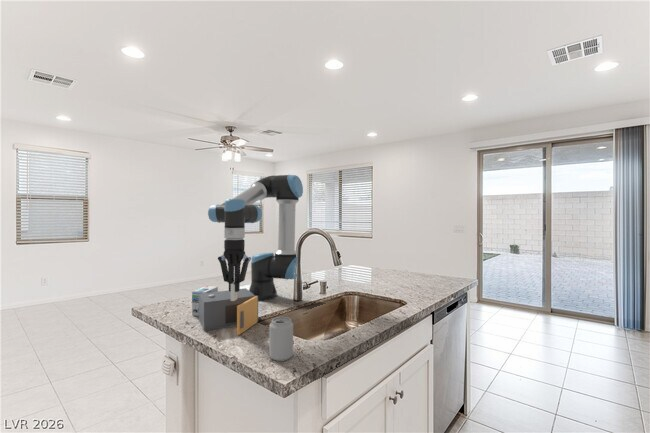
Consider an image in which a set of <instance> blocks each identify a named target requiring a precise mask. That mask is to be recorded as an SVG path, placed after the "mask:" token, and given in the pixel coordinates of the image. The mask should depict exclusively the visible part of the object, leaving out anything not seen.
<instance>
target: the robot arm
mask: <svg viewBox="0 0 650 433" xmlns="http://www.w3.org/2000/svg"><path fill="white" fill-rule="evenodd" d="M303 189H304V186H303V183H302V180H301V178H300V177H299V175H295V174H287V175H286V174H280V175H268V176H265V177H263V178H262V177H261V179H258V180H256V181H255V182H253V183H251V185H250V187H248V188H247V189H245V190H243V191H242V192H240V193H238V194H236V195H235V196H233V197H232V198H226V199H225V201H224V202H223V203H221V204H212V205H211V206H210V207H209V208H208V210H207V215H208V216H207V217H208V219H209V220H210V221H211V222H213V223H218V224H219V223H224V231H223V232H224V234H223V235H224V241H223V242H224V244H223V245H224V246H223V248H224V250H223V254H222V255H221V256H218V257H217V260H218V261H219V264H220V268H221V273H222V279H223V281H224V282H227V283H228V290H229V292H231V301H235V300H237V292H238V291H239V290H240V289H241V288H240V285H241V284H240V283H243V282H244V281H245V279H246V274H247V270H248V267H249V264H250V266H251V267H250V268H251V270H250V271H251V281H250V282H251V283H250V285H249V289H248V290H249V291H250V292H251V293H252V294H254V295H255V296H258V301H266V300H267V301H268V300H272V299H276V298H277V296H278V293H277V289H276V286H275V282H274V279H282V280H283V279H284V280H287V281H288V280H295V279H297V277H298V276H297V274H296V269H295V266H297V257H298V256H297V257H296V252H297V251H296V250H295V249H296V247H295V246H296V244H295V243H296V240H295V239H296V204H298V202H299V198H301V197H302V196H303V193H304V190H303ZM268 198H275V199H276V200H275V201H276V202H277V203H278V233H277V234H278V235H277V236H278V237H277V242H278V244H277V250H276V251H275V252H263V253H262V252H261V253H256V254H254V255H252V256H248V255H246V251H245V239H244V238H245V231H246V230H245V229H246V228H245V227H246V226H245V224H255V223H258V222H260V220H261V219H262V216H263V212H262V209H261V208H260V207H259V206H257V205H254V204H255V203H257V202H258V201H263V200H264V199H268ZM242 261H243V263H242ZM250 261H251V263H250ZM241 264H242V266H241ZM294 273H295V274H294Z"/></svg>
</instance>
